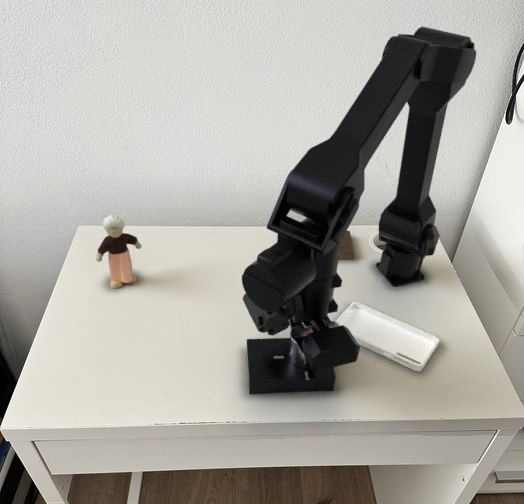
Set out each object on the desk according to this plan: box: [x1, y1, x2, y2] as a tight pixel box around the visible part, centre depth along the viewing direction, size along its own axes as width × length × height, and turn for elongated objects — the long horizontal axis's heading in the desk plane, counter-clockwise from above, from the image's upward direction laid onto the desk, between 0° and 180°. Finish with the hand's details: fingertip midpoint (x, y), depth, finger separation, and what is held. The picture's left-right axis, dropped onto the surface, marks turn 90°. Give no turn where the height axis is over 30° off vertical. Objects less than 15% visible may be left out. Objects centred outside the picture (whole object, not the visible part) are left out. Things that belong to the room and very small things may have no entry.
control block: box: [338, 230, 355, 261], centre depth 98 cm, size 12×7×4 cm, turn 91°
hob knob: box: [288, 324, 313, 368], centre depth 75 cm, size 4×4×5 cm
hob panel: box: [246, 337, 337, 395], centre depth 77 cm, size 12×9×3 cm
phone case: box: [335, 301, 440, 372], centre depth 83 cm, size 7×1×15 cm
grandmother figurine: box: [95, 214, 143, 289], centre depth 88 cm, size 8×4×13 cm, turn 131°
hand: (303, 354), depth 76 cm, fingers closed on hob knob, 4 cm apart
